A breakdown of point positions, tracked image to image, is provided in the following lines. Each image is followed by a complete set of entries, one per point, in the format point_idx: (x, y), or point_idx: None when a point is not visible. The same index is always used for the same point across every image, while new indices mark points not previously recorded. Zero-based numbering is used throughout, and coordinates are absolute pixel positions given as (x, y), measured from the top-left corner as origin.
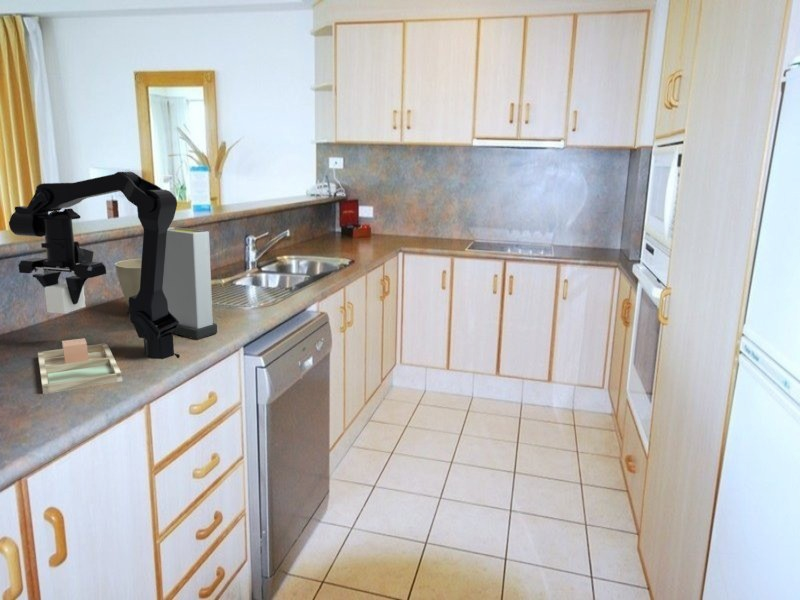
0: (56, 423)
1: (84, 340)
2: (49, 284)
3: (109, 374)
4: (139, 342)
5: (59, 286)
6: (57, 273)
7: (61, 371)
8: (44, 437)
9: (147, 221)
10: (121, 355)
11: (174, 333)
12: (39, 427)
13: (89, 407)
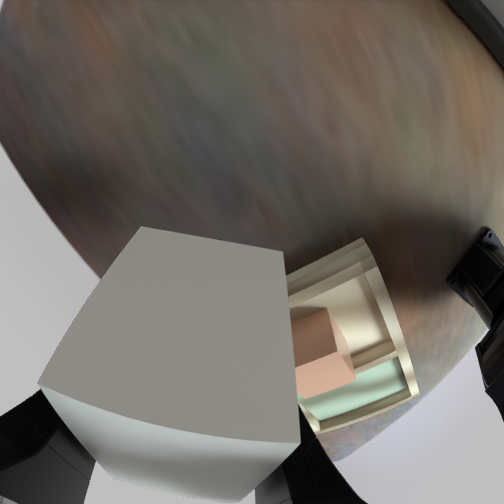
0: (351, 440)
1: (343, 364)
2: (86, 466)
3: (402, 400)
4: (428, 124)
5: (176, 487)
6: (13, 491)
7: None
8: (348, 450)
9: None
10: (403, 253)
11: (496, 57)
12: (337, 445)
13: (377, 421)
